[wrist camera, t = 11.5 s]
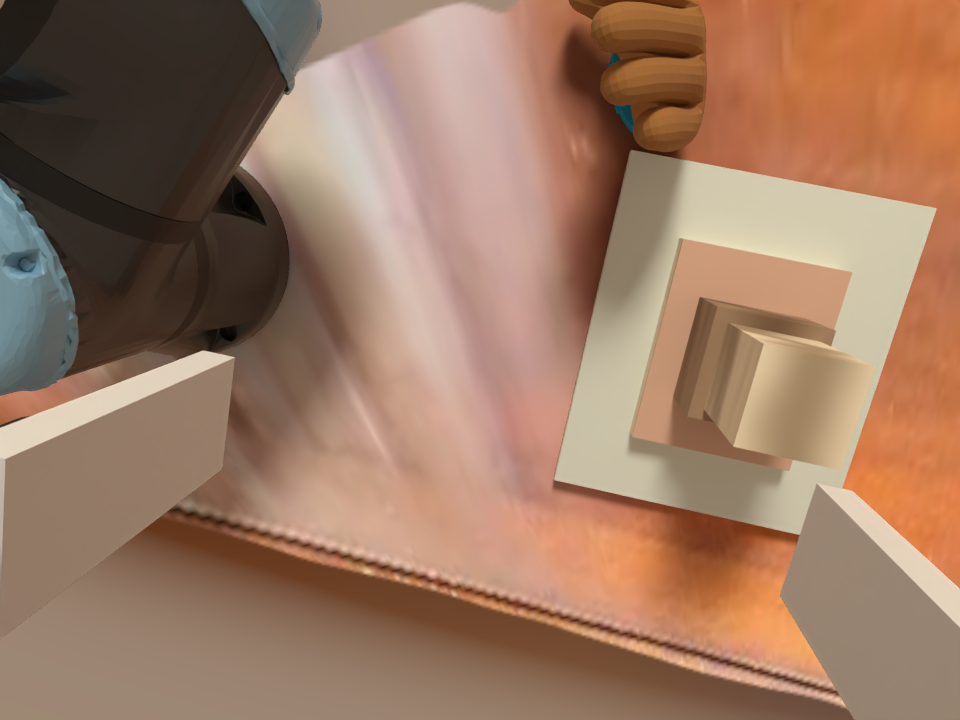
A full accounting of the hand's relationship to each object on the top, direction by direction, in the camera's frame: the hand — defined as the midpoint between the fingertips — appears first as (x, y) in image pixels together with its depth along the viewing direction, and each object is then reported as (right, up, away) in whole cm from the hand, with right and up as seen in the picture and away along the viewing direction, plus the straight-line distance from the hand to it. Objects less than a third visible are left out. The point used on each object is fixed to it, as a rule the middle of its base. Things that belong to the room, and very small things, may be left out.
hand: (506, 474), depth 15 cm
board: (+17, +3, +33) cm, 37 cm away
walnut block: (+17, +3, +31) cm, 35 cm away
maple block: (+16, +2, +26) cm, 31 cm away
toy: (+9, +22, +30) cm, 38 cm away
